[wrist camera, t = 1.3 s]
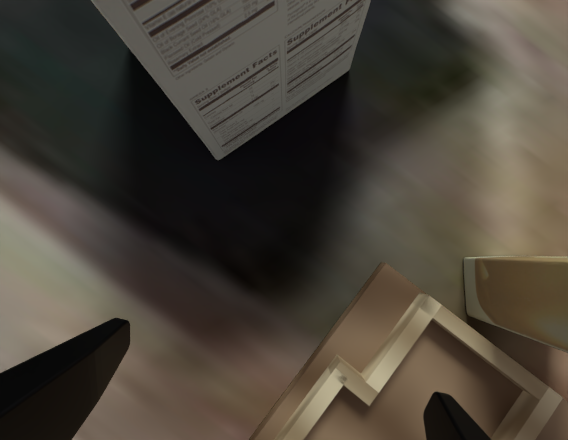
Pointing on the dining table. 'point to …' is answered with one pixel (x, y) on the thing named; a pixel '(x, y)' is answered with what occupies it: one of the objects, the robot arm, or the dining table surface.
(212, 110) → the supplement box
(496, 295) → the skincare box
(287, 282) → the dining table surface
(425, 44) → the dining table surface
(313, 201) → the dining table surface
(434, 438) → the robot arm
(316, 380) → the keyhole guide
